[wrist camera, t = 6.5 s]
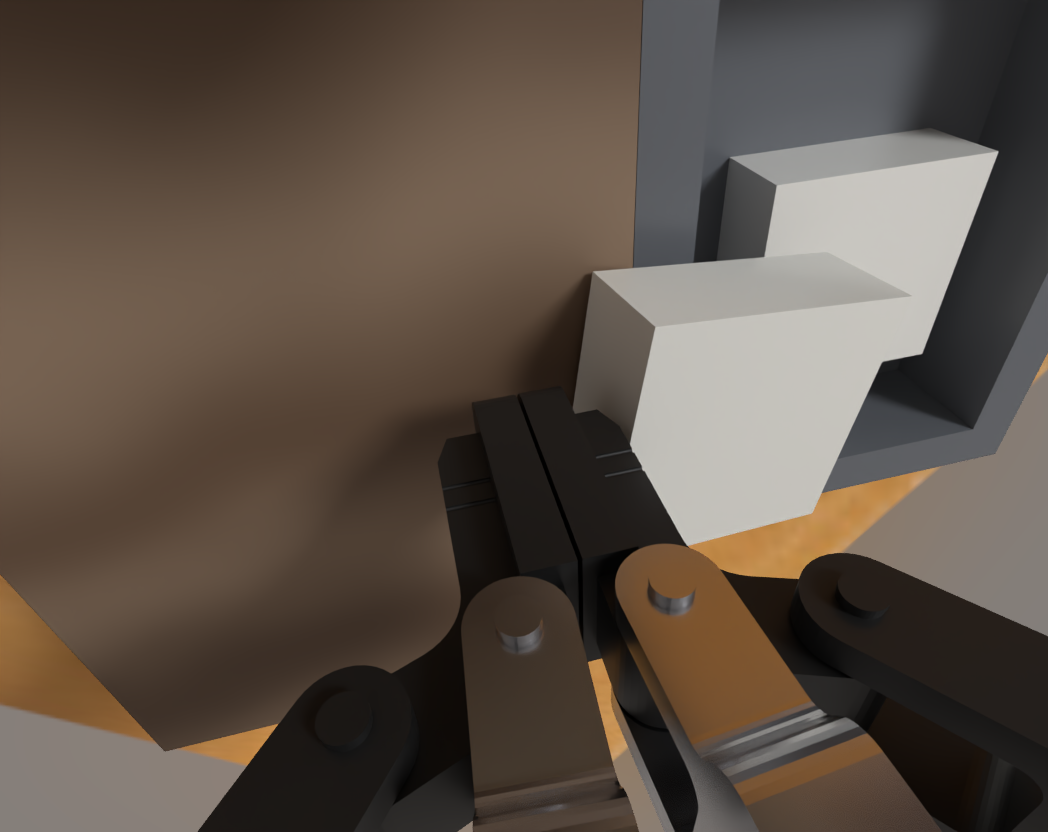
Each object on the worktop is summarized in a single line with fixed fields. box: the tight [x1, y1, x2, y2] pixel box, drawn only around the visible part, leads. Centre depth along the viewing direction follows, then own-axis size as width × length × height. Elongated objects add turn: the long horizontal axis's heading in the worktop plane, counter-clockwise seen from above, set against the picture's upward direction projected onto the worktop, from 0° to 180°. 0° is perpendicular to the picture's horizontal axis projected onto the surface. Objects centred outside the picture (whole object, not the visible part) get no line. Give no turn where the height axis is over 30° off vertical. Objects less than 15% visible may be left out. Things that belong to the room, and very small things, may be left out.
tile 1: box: [573, 252, 912, 546], centre depth 12 cm, size 5×5×2 cm
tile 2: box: [717, 128, 999, 362], centre depth 15 cm, size 5×5×2 cm
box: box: [633, 0, 1048, 493], centre depth 14 cm, size 14×11×4 cm
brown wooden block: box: [0, 0, 643, 751], centre depth 13 cm, size 18×12×4 cm, turn 5°
